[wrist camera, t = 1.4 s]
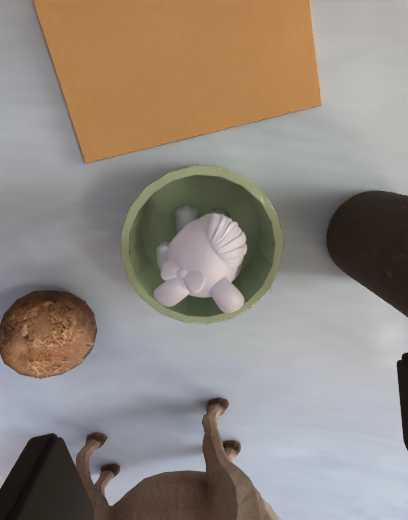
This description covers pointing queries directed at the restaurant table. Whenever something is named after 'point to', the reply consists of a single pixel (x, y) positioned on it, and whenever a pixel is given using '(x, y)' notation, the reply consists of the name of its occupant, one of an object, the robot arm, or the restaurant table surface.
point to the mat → (177, 67)
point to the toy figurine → (202, 259)
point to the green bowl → (204, 199)
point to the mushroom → (46, 333)
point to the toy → (181, 484)
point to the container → (373, 244)
